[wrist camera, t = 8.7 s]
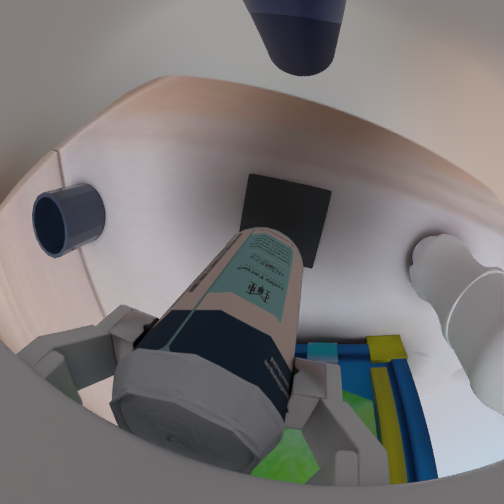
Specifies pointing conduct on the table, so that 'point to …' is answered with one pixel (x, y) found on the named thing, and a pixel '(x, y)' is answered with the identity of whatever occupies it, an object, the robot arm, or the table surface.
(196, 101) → the table surface
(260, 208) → the mat
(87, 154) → the table surface
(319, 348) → the decorative book
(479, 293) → the water bottle
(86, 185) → the cup
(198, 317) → the supplement bottle
